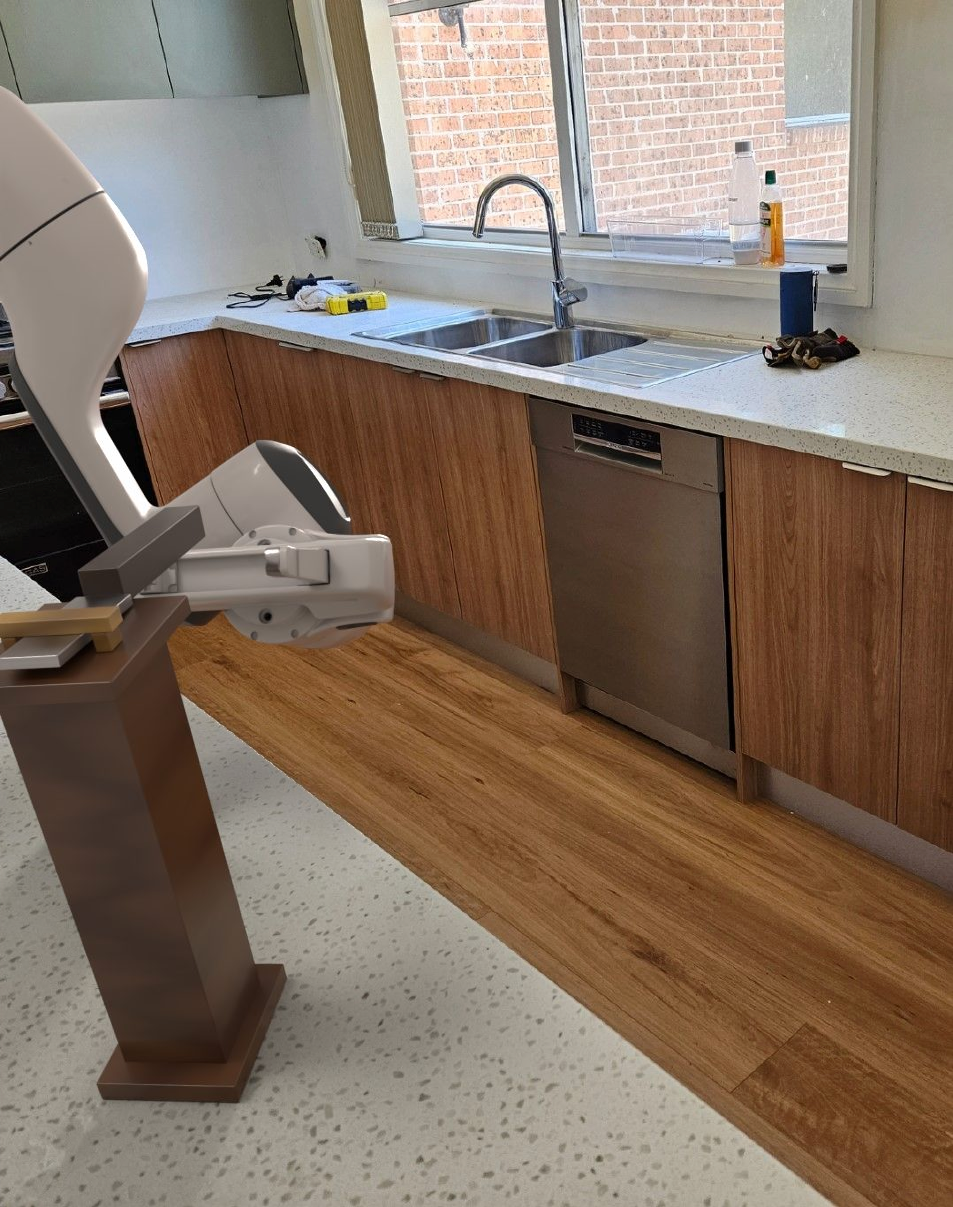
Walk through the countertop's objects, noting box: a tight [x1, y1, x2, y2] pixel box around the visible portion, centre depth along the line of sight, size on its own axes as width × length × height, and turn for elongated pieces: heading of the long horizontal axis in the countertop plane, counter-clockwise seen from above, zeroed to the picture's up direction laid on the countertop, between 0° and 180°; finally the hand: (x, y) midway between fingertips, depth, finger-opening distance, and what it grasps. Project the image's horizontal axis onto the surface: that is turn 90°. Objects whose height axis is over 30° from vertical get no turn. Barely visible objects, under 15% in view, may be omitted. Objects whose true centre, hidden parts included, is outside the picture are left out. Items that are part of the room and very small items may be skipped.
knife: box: [0, 505, 206, 670], centre depth 56 cm, size 3×18×2 cm, turn 172°
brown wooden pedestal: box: [0, 595, 288, 1103], centre depth 56 cm, size 8×9×28 cm
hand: (203, 564), depth 67 cm, fingers open, 8 cm apart
